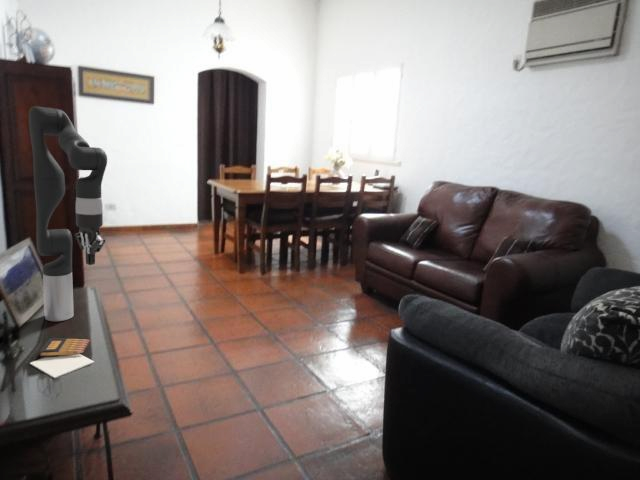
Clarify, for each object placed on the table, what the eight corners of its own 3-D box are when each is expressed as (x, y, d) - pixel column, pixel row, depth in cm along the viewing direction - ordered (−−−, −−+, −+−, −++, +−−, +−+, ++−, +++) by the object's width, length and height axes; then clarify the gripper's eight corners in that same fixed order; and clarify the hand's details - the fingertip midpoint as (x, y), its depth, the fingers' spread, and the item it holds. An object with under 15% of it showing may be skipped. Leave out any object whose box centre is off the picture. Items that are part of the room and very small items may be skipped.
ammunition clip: (39, 357, 135) (83, 355, 138) (39, 351, 134) (83, 350, 138) (50, 343, 145) (90, 342, 148) (49, 338, 144) (90, 337, 148)
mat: (29, 364, 132) (29, 362, 132) (69, 349, 142) (69, 348, 142) (54, 378, 126) (54, 377, 125) (94, 362, 136) (94, 361, 136)
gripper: (113, 213, 140) (113, 266, 143) (87, 207, 146) (89, 257, 150) (90, 215, 133) (92, 271, 137) (65, 209, 139) (67, 262, 143)
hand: (90, 264), depth 143 cm, fingers closed
